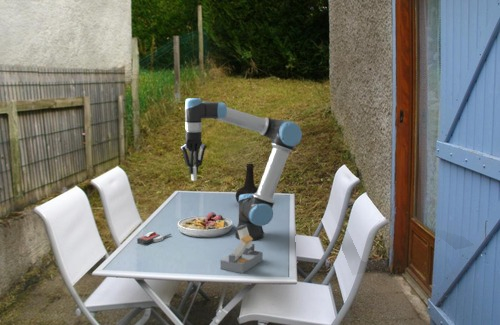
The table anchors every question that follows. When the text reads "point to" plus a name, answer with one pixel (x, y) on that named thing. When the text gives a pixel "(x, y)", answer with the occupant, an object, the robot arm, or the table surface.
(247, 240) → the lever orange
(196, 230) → the bowl
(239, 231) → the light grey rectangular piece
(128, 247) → the table surface
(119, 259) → the table surface
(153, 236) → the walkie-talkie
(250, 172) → the glass bottle
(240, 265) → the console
